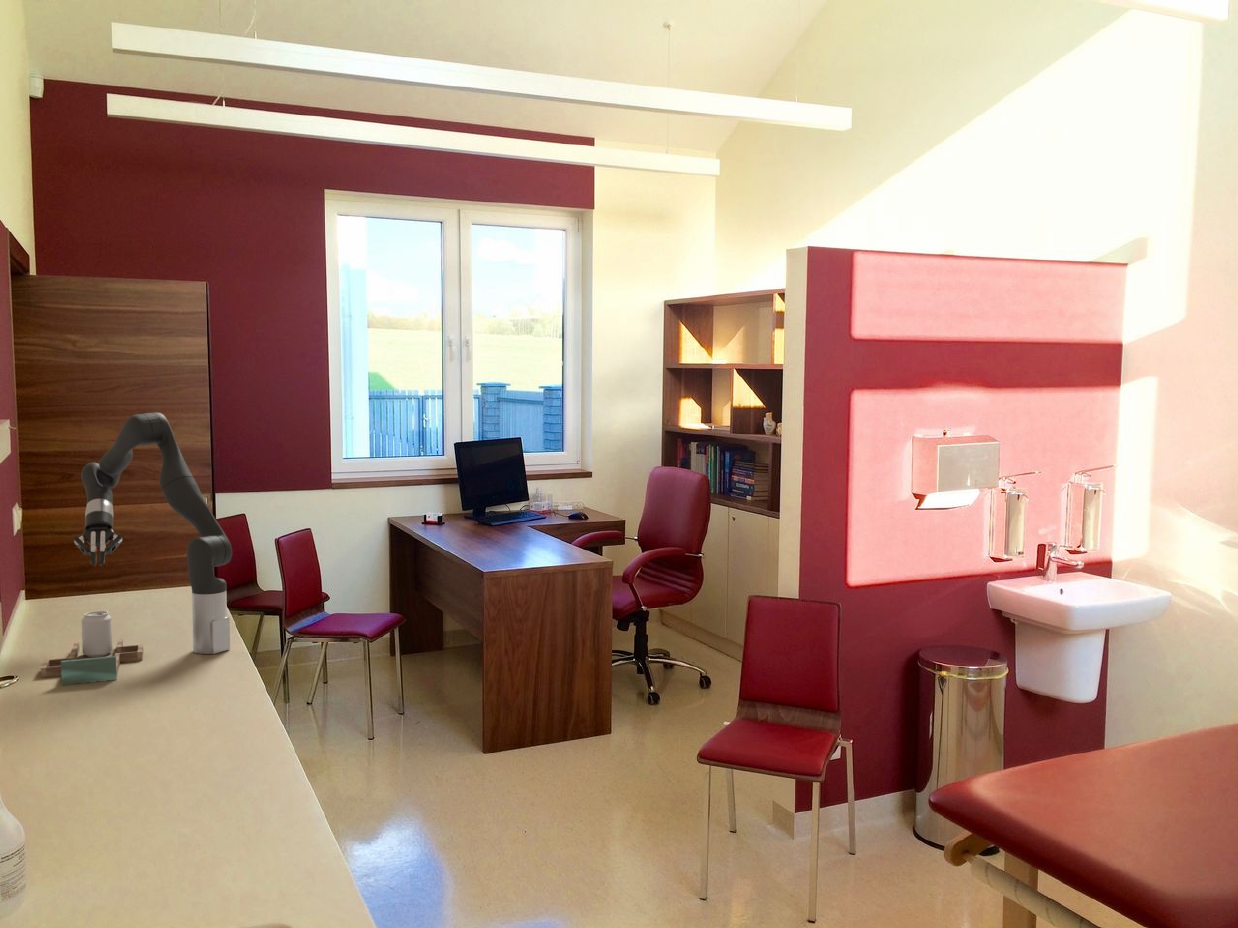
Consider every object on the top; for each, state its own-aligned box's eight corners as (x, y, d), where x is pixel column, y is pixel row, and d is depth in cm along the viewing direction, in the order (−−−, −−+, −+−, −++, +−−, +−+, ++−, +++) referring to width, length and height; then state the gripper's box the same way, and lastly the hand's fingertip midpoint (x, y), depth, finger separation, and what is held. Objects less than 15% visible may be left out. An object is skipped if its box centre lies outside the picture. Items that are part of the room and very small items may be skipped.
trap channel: (52, 653, 283) (51, 632, 282) (144, 645, 292) (143, 624, 292) (36, 687, 251) (35, 664, 250) (140, 677, 260) (139, 654, 260)
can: (118, 651, 285) (116, 609, 284) (102, 658, 278) (100, 615, 277) (93, 650, 286) (92, 609, 285) (76, 657, 279) (75, 615, 278)
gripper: (72, 510, 295) (70, 558, 285) (123, 508, 300) (122, 555, 290) (74, 526, 300) (72, 573, 290) (124, 524, 306) (124, 570, 295)
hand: (97, 564), depth 290 cm, fingers closed
